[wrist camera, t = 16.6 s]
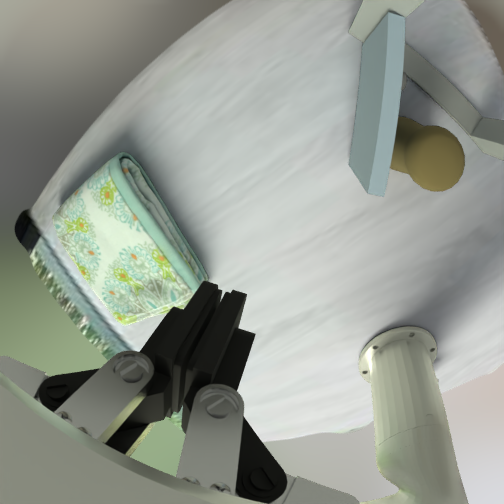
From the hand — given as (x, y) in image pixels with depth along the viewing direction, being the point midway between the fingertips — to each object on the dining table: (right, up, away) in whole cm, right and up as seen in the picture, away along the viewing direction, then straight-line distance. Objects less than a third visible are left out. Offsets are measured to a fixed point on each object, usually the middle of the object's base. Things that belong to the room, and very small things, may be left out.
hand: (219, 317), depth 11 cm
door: (+13, +17, +14) cm, 26 cm away
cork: (+17, +14, +16) cm, 27 cm away
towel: (-16, +4, +29) cm, 33 cm away
